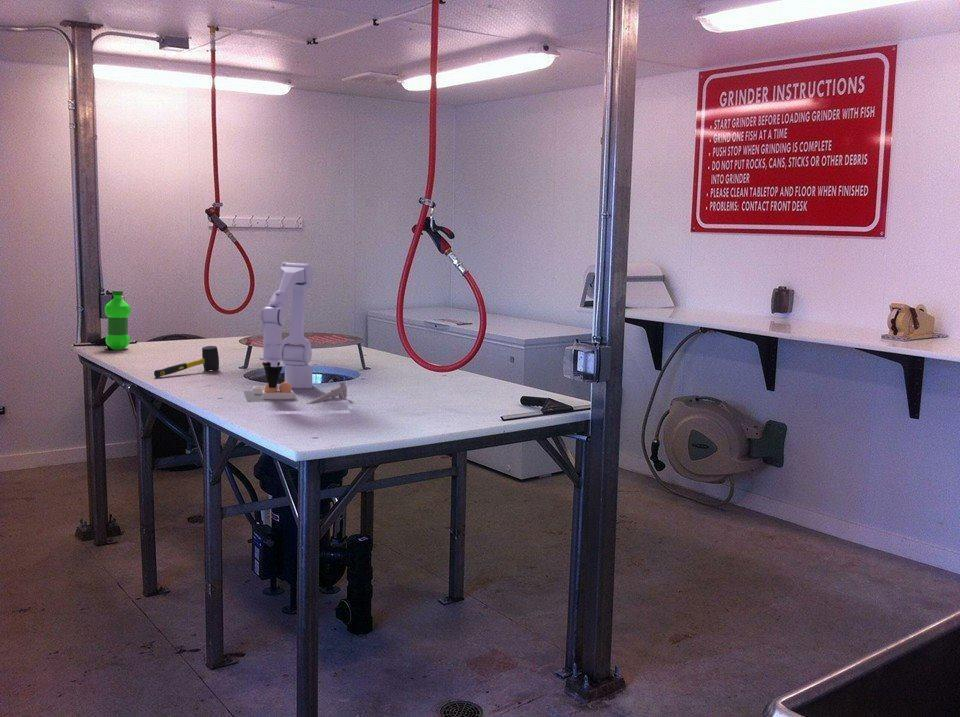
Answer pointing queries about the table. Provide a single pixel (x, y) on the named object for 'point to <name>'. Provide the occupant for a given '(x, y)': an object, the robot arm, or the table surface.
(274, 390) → the ball
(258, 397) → the mat
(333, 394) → the caliper
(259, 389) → the tube
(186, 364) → the mallet
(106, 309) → the plastic bottle
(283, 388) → the ball left
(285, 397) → the hollow rectangular frame
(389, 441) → the table surface
